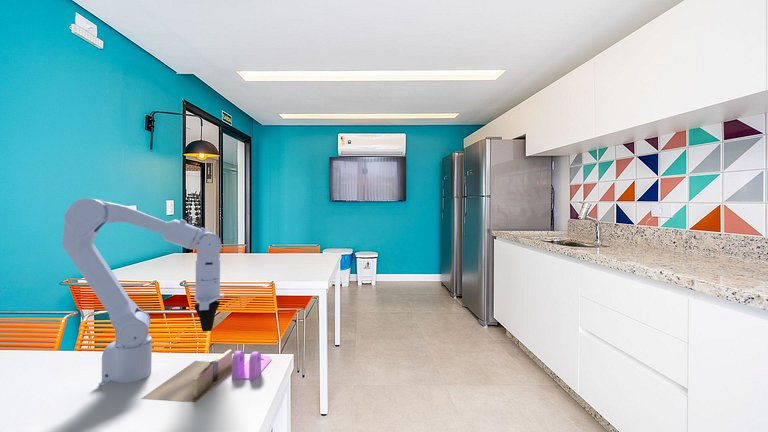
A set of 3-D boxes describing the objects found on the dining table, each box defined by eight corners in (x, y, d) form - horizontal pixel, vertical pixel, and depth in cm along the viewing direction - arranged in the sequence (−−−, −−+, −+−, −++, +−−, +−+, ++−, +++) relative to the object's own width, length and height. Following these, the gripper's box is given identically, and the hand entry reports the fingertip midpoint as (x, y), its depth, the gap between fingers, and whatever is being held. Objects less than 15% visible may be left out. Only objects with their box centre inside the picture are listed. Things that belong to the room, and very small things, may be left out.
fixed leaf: (207, 381, 84) (208, 363, 84) (227, 365, 93) (227, 349, 93) (215, 382, 84) (215, 364, 84) (233, 366, 93) (234, 349, 93)
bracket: (254, 384, 86) (255, 355, 86) (231, 383, 86) (232, 354, 86) (274, 361, 99) (274, 336, 99) (254, 360, 99) (254, 335, 99)
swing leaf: (192, 397, 77) (193, 378, 77) (209, 381, 84) (209, 364, 84) (196, 397, 77) (196, 378, 77) (212, 381, 84) (213, 364, 84)
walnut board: (141, 403, 76) (141, 398, 76) (195, 364, 95) (195, 360, 95) (195, 406, 76) (195, 402, 75) (239, 367, 94) (239, 363, 94)
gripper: (222, 283, 89) (221, 338, 89) (226, 272, 102) (226, 320, 103) (189, 284, 86) (189, 341, 87) (198, 273, 100) (198, 322, 100)
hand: (207, 330), depth 94 cm, fingers closed
